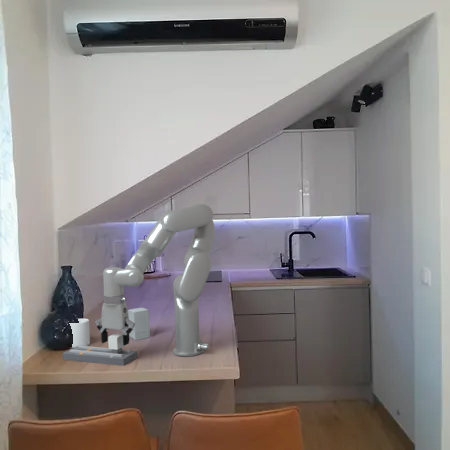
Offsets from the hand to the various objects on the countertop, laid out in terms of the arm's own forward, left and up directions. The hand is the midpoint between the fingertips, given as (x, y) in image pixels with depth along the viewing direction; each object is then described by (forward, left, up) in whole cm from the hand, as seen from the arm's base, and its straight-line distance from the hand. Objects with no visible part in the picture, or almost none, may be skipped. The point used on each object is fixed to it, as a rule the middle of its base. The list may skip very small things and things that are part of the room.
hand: (115, 343), depth 185 cm
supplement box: (+8, -30, -7) cm, 32 cm away
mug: (+29, -12, -7) cm, 32 cm away
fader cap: (0, 0, -4) cm, 4 cm away
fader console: (+8, 0, -7) cm, 10 cm away
